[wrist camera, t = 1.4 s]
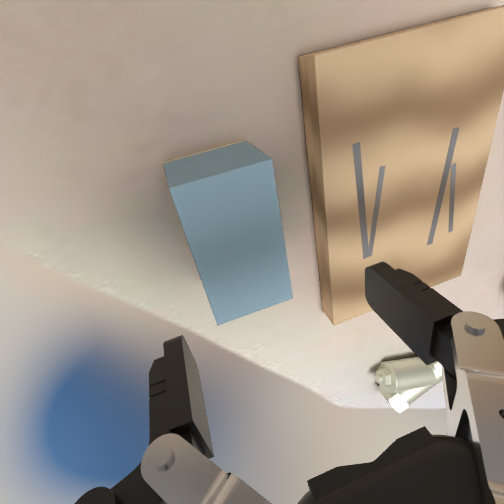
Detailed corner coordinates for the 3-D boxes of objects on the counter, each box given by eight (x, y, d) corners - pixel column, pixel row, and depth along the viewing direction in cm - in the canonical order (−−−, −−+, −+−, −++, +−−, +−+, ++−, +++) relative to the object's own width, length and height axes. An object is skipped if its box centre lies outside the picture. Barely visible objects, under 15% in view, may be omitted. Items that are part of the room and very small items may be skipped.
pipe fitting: (359, 368, 36) (383, 391, 40) (380, 397, 33) (404, 419, 36) (415, 325, 35) (434, 352, 39) (441, 350, 32) (460, 377, 35)
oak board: (297, 56, 17) (314, 55, 16) (490, 7, 19) (524, 2, 17) (322, 310, 28) (333, 325, 27) (443, 263, 30) (461, 275, 28)
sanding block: (162, 160, 18) (168, 188, 14) (243, 139, 19) (272, 159, 15) (204, 279, 23) (217, 325, 19) (266, 258, 24) (293, 298, 20)
